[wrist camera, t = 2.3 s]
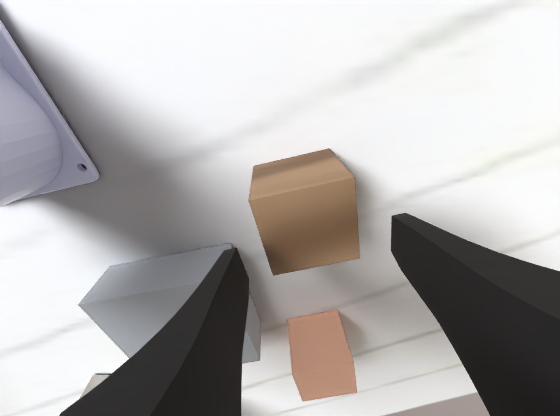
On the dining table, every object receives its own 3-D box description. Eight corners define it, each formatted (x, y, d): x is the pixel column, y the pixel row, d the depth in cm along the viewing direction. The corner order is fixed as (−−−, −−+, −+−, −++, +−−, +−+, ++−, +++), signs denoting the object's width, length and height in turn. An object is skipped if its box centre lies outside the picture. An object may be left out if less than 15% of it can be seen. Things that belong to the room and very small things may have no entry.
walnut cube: (253, 165, 15) (248, 200, 11) (329, 148, 15) (354, 176, 11) (271, 226, 18) (273, 275, 13) (336, 213, 17) (359, 258, 13)
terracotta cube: (287, 318, 23) (292, 374, 19) (337, 309, 23) (353, 363, 18) (296, 346, 26) (302, 401, 21) (341, 338, 25) (357, 392, 21)
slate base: (112, 263, 19) (78, 304, 16) (231, 239, 18) (223, 277, 15) (165, 334, 24) (148, 378, 20) (261, 318, 23) (260, 360, 20)
